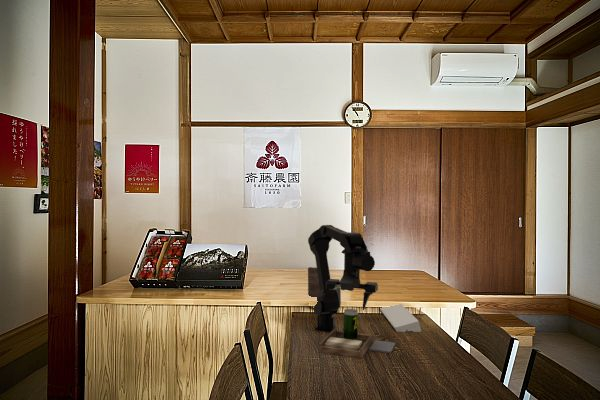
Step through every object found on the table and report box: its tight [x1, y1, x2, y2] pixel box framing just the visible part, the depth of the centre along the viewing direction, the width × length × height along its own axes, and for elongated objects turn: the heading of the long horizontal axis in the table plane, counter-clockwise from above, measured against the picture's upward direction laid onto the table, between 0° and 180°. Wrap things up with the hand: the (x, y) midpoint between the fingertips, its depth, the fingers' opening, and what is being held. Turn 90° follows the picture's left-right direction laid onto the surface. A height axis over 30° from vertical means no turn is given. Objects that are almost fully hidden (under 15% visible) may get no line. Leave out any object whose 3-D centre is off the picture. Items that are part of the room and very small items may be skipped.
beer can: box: [343, 308, 359, 341], centre depth 167 cm, size 5×5×12 cm
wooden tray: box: [318, 327, 375, 359], centre depth 163 cm, size 15×20×3 cm
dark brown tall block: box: [307, 266, 320, 297], centre depth 217 cm, size 8×7×20 cm
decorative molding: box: [379, 303, 422, 333], centre depth 198 cm, size 34×5×10 cm
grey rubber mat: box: [368, 339, 396, 354], centre depth 162 cm, size 8×10×1 cm
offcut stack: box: [325, 337, 363, 351], centre depth 158 cm, size 13×5×4 cm, turn 69°
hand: (351, 308), depth 167 cm, fingers open, 9 cm apart
